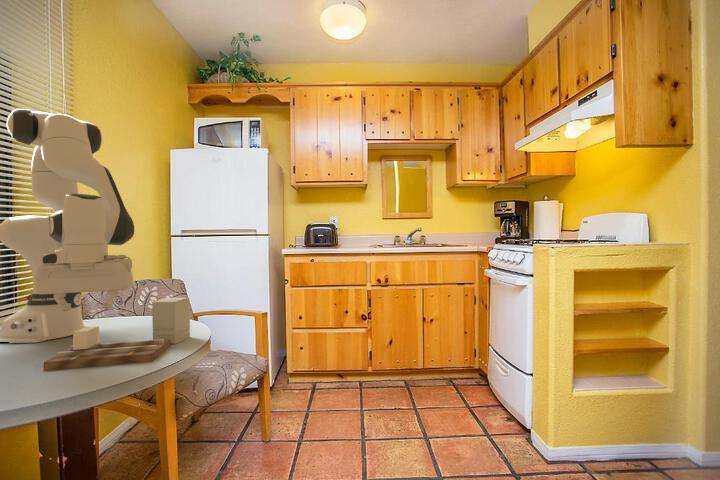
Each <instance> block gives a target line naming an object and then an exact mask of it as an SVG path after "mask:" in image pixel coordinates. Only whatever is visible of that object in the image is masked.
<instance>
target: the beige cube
mask: <svg viewBox="0 0 720 480" xmlns="http://www.w3.org/2000/svg"><path fill="white" fill-rule="evenodd" d="M72 340H73V341H72V344H73V348H72V349H71V351H77V350H91V349H99V348H101V343H102V342H101V343H99V342H100V326H99V325H97V326H85V327H84V328H82V329H80V330H77V331H75V332H73V335H72Z"/></svg>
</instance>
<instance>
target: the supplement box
mask: <svg viewBox="0 0 720 480" xmlns="http://www.w3.org/2000/svg"><path fill="white" fill-rule="evenodd" d="M151 305H152V306H151V307H152V308H151V309H152V310H151V312H152V340H158V339H164V340H167V339H170V345H175V344H176V345H177V344H178V343H180V342H182V340H183V341H185V340H187V339H189V338H190V337H191V324H190V322H191V319H190V315H191V314H190V313H191V312H190V297H165V298H162V299H158V300H154V301H152V302H151ZM186 338H187V339H186ZM184 339H185V340H184Z"/></svg>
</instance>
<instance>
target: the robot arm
mask: <svg viewBox="0 0 720 480" xmlns="http://www.w3.org/2000/svg"><path fill="white" fill-rule="evenodd" d="M6 129H7V131H8V132H9V134H10V136H11V138H12V139H13V140H15V141H16V142H18V143H21V144H24V145H27V146H35V147H34V151H33V153H32V154H33V155H32V159H31V165H30V166H31V167H30V171H31V174H30V176H31V177H30V178H31V180H30V181H31V195H32V198H33V199H34V200H35V201H36V202H38V203H40V204H41V205H43V206H46V207H48V208H51V209H52V210H54V212H53V213H52V214H50V215H48V216H46V215H21V216H20V215H19V216H11V217H10V216H9V217H7V218H5V220H3V221H2V222H1V223H0V242H1V243H2V244H3V245H4V246H5V247H6V248H7V249H9V250H10V249H11V250H12V251H14V252H16V253H18V254H19V255H20V256H22V257H23V258H24V259H25V261H26V262H27V264H28V266H29V268H30V270H31V275H32V283H33V284H32V286H33V287H32V289H33V291H32V293H30V294H29V295H26V296H23V297H22V298H23V299H22V301H27V302H26V305H25V306H24V307H22V308H20V309H19V310H18V311H16V312H15V313H13V314H12V315H10V316H8V317H7V318H5V319H4V320H3V321H2V322H1V326H0V342H9V343H8V344H15V343H16V344H21V343H23V344H24V343H26V344H27V343H31V344H32V343H41V342H45V341H49V340H54V339H59V338H65V337H70V336H73V332H75V331H77V330H80V329H82V328H84V327H86V326H85V323H84V321H83V319H84V318H83V317H82V316H83V315H82V310H81V305H82V293H93V292H94V293H96V292H106V293H107V296H108V298H107V300H106V301H102V309H105V310H106V309H107V310H110V309H112V308H113V306H114V300H115V299H116V297H117V295H118V293H119V292H118V291H127V290H129V289H131V288H132V287H133V286H134V278H133V277H134V276H133V273H132V268H133V260H132V259H131V258H130V257H129V256H126V255H125V254H119V255H118V254H116V255H115V254H109V248H108V247H109V246H122V245H125V244H126V243H127V242H129V241H130V240H131V239H132V238H133V237H134V235H135V225H134V224H135V223H134V221H133V218H132V216H131V215H130V214H129V212H128V210H127V208H126V207H125V204H124V201H123V199H122V196H121V194H120V192H119V189H118V187H117V185H116V184H117V183H115V179H114V178H113V176H112V174H111V171H110V170H109V168H107V167H106V166H104V165H102V164H101V163H100V162H99V161H98V160H97V159H96V157H95V156H94V154H95V153H97V152H98V151H100V149H101V146H102V144H103V136H102V133H101V130H100V128H99V127H98V126H97V125H95V124H93V123H91V122H89V121H86V120H85V121H83V120H79V119H77V118H75V117H74V116H71V115H68V114H64V113H63V114H62V113H56V114H54V113H48V112H43V111H37V110H36V111H34V110H31V109H29V108H15V109H14V110H11V113H10V114H9V115H8V117H7V120H6ZM78 183H79V184H82V185H84V186H86V187H89V188H91V189H93V190H94V191H96V192H97V193H98V195H94V194H86V193H79V190H78Z"/></svg>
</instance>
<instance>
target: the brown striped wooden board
mask: <svg viewBox="0 0 720 480" xmlns="http://www.w3.org/2000/svg"><path fill="white" fill-rule="evenodd" d="M170 347H171V344H170V339H167V340H164V339H158V340H153V339H146V340H131V341H117V342H105V343H104V342H101V348H99V349H91V350H77V351H71V349H72V348H73V345H70V346H69V347H68V350H65V351H57V352H55V355H54V356H53V357H51V358H49V359H47V360H45V361H44V362H43V371H53V370H54V371H56V370H65V369H66V370H67V369H68V370H69V369H76V368H77V369H78V368H79V369H80V368H90V367H99V366H100V367H102V366H113V365H125V364H128V365H129V364H137V363H147V362H148V363H149V362H150V363H151V362H154V361H155V360H156V359H157V358H158V357H159V356H160V355H162V354H163V353H164V352H165V351H166V350H168V349H169V348H170Z"/></svg>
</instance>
